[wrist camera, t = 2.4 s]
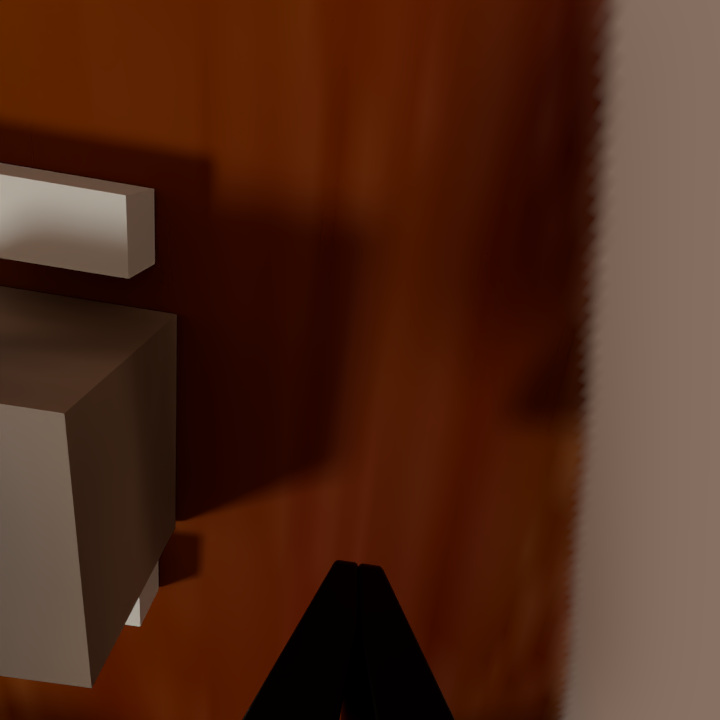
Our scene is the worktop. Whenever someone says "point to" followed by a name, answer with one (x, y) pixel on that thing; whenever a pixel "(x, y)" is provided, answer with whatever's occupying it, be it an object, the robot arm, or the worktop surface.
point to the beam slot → (79, 242)
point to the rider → (80, 476)
